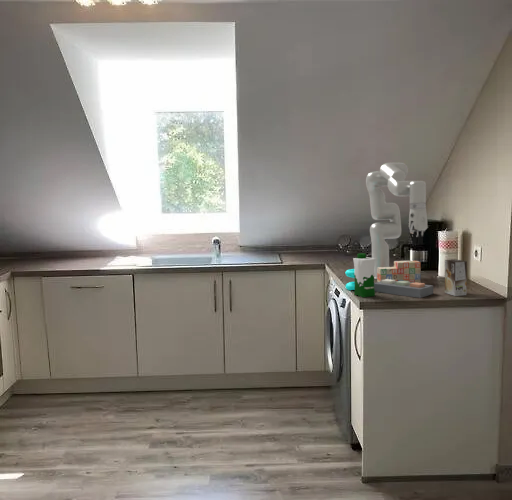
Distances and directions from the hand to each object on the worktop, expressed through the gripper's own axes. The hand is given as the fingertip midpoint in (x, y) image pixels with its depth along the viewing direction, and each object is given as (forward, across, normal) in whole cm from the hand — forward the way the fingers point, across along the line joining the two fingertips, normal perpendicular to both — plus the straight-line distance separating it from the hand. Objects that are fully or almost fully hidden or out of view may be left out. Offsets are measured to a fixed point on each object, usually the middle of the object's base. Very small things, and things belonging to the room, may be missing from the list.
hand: (417, 244), depth 259 cm
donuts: (+23, -14, +27) cm, 38 cm away
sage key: (+21, -7, +4) cm, 22 cm away
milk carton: (+23, -24, +14) cm, 36 cm away
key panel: (+23, -7, +4) cm, 25 cm away
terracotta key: (+21, -7, -4) cm, 22 cm away
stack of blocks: (+24, +11, +17) cm, 31 cm away
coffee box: (+23, +5, -17) cm, 29 cm away
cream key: (+21, -7, +12) cm, 25 cm away
